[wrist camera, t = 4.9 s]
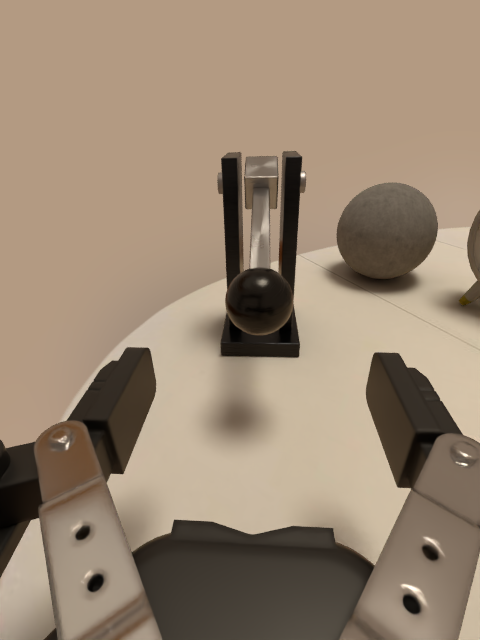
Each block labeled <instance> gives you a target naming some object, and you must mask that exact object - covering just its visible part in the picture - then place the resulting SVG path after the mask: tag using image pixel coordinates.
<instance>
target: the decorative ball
mask: <svg viewBox="0 0 480 640" xmlns="http://www.w3.org/2000/svg"><path fill="white" fill-rule="evenodd" d="M437 231H438V223H437V216H436V212H435V210H434V207H433V205H432V204H431V203H430V201H429V199H428V198H427V197H426V196H425V195H424V194H423V193H421V192H420V191H419V190H417V189H415V188H413V187H411V186H409V185H405V184H401V183H384V184H379V185H375V186H372V187H370V188H368V189H366V190H364V191H362V192H361V193H359V194H358V195H357V196H356V197H354V198H353V199H352V201H350V203H349V204H348V205H347V206H346V208H345V209H344V211H343V213H342V215H341V217H340V220H339V223H338V227H337V244H338V248H339V251H340V253H341V255H342V257H343V259H344V260H345V262H346V263H347V264H348V265H349V266H350V267H351V268H352V269H353V270H355V271H356V272H358V273H360V274H362V275H364V276H367V277H371V278H376V279H389V278H395V277H398V276H401V275H404V274H406V273H408V272H410V271H412V270H413V269H415V268H416V267H417V266H419V265H420V264H421V263H422V262H423V261H424V260H425V259H426V257H427V256H428V255H429V253H430V252H431V250H432V248H433V246H434V243H435V241H436V237H437Z"/></svg>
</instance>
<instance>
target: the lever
mask: <svg viewBox="0 0 480 640" xmlns="http://www.w3.org/2000/svg"><path fill="white" fill-rule="evenodd" d="M244 180H245V208H246V209H252V221H251V244H250V265H249V269H248V270H245V271H243V272H242V273H240V274H239V275H237V276H236V277H235V278H234V279H233V281H232V282H231V284H230V285H229V287H228V290H227V293H226V300H225V303H226V310H227V313H228V316H229V318H230V319H231V321H232V322H233V323H234V325H235V326H236V327H238V328H239V329H240V330H242V331H244V332H246V333H248V334H252V335H267V334H271V333H273V332H275V331H277V330H278V329H280V328H281V327H282V326H283V325H284V324H285V323H286V322H287V321H288V319H289V317H290V315H291V313H292V309H293V293H292V290H291V287H290V285H289V283H288V282H287V281H286V279H285V278H284V277H283V276H282V275H280V274H279V273H278V272H276V271H274V270H272V269H270V209H276V208H277V194H278V157H277V156H259V157H258V156H257V157H246V163H245V177H244Z"/></svg>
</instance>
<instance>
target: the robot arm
mask: <svg viewBox="0 0 480 640" xmlns="http://www.w3.org/2000/svg"><path fill="white" fill-rule="evenodd" d="M155 392H156V379H155V373H154V368H153V363H152V357H151V352H150V350H149V348H134V347H128V348H126V349H125V351H124V352H123V354H122V356H121V357H120V359H119V361H111V362H110V363H109V364H107V365H106V366H105V367H103V368H102V369H101V370H100V371H99V373H98V374H97V376H96V377H95V379H94V382H92V383H91V385H90V386H89V388H88V390H87V391H86V392H85V394H84V395H83V397H82V398H81V400H80V401H79V403H78V404H77V406H76V407H75V409H74V410H73V412H72V413H71V415H70V416H69V418H68V419H67V421H64V422H60V423H58V424H55V425H53V426H51V427H50V428H48V429H47V430H45V431H44V432H43V433H42V434H41V435H40V436H39V437H38V439H37V440H36V442H33V443H29V444H24V445H19V446H15V447H10V448H5V446H4V444H3V442H2V441H1V440H0V577H1V576H2V574H3V572H4V570H5V568H6V566H7V564H8V562H9V560H10V559H11V557H12V555H13V553H14V551H15V549H16V547H17V545H18V543H19V542H20V540H21V538H22V536H23V534H24V532H25V530H26V528H27V527H28V525H29V523H30V521H31V520H33V519H36V518H39V519H40V525H41V532H42V539H43V545H44V552H45V558H46V565H47V572H48V578H49V585H50V591H51V598H52V605H53V611H54V618H55V624H56V628H55V629H54V630H53V631H52V632H51V633H50V634H49V635H48V636H47V637H46V638H45V639H44V640H458V638H459V634H460V630H461V626H462V622H463V618H464V614H465V610H466V606H467V602H468V598H469V594H470V589H471V585H472V581H473V577H474V573H475V569H476V565H477V561H478V557H479V553H480V443H479V442H477V441H475V440H473V439H471V438H469V437H467V436H464V435H463V434H462V433H461V431H460V430H459V428H458V426H457V425H456V423H455V422H454V420H453V418H452V417H451V415H450V414H449V412H448V410H447V409H446V407H445V406H444V404H443V402H442V401H440V398H439V396H438V395H437V393H436V391H434V388H433V387H432V385H431V383H430V382H429V380H428V379H427V377H425V376H424V375H423V374H422V373H420V372H419V371H418V370H417V369H415V368H407V367H406V365H405V363H404V361H403V360H402V358H401V356H400V355H399V354H398V353H374V355H373V358H372V362H371V367H370V372H369V377H368V381H367V386H366V399H367V404H368V407H369V410H370V412H371V415H372V418H373V421H374V423H375V426H376V429H377V432H378V435H379V437H380V440H381V443H382V446H383V449H384V451H385V454H386V457H387V460H388V462H389V465H390V468H391V471H392V474H393V476H394V479H395V482H396V485H397V487H399V488H411V491H410V493H409V495H408V497H407V499H406V501H405V503H404V505H403V508H402V510H401V512H400V514H399V516H398V518H397V520H396V522H395V524H394V527H393V529H392V531H391V533H390V535H389V537H388V539H387V541H386V544H385V546H384V548H383V550H382V552H381V554H380V556H379V558H378V561H377V563H376V565H375V566H374V565H373V564H372V563H371V562H370V561H369V560H367V559H366V558H365V557H363V556H362V555H361V554H359V553H357V552H356V551H354V550H352V549H351V548H349V547H346V546H344V545H342V544H340V543H337V542H335V539H334V533H333V528H319V527H300V526H291V527H287V528H282V529H278V530H273V531H269V532H264V533H260V534H254V535H251V534H247V533H244V532H241V531H238V530H235V529H232V528H229V527H226V526H223V525H220V524H217V523H214V522H206V521H187V520H174V523H173V527H172V531H171V533H169V534H165V535H162V536H160V537H157V538H155V539H153V540H151V541H149V542H147V543H145V544H144V545H142V546H140V547H139V548H137V549H136V550H135V551H134V552H132V553H131V550H130V547H129V545H128V542H127V539H126V536H125V533H124V531H123V528H122V525H121V522H120V519H119V516H118V514H117V511H116V508H115V505H114V502H113V500H112V497H111V494H110V491H109V488H108V486H107V481H108V479H109V476H110V474H123V473H124V471H125V468H126V466H127V464H128V461H129V459H130V456H131V454H132V451H133V449H134V446H135V444H136V441H137V439H138V436H139V434H140V431H141V429H142V427H143V424H144V422H145V419H146V417H147V414H148V412H149V409H150V407H151V404H152V402H153V399H154V397H155Z"/></svg>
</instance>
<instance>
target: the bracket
mask: <svg viewBox="0 0 480 640" xmlns="http://www.w3.org/2000/svg"><path fill="white" fill-rule="evenodd" d="M221 162H222V163H221V164H222V173H218V192H219V194H223V207H224V229H225V250H226V272H227V290H228V287H229V285H230V284H231V282H232V281H233V279H234V278H235V277H236V276H237V275H239V274H240V273H242V272H243V271H244V269H243V221H242V220H243V219H242V218H243V217H242V172H241V171H242V166H241V153H240V152H237V153H236V152H235V153H227V154H226V155H225V156H224V157H223V158H222V159H221ZM301 167H302V156H300V155H299V154H298V153H297V152H296V151H284V152H283V155H282V184H281V185H282V186H281V213H280V214H281V215H280V243H279V271H278V273H279V274H280V275H282V276H283V277H284V278H285V279H286V281H287V282H288V283H289V285H290V287H291V290H292V293H293V300H294V283H295V267H296V250H297V231H298V216H299V200H300V193H304V192H305V187H306V172H305V171H301ZM299 349H300V342H299V336H298V329H297V323H296V317H295V311H294V304H293V309H292V313H291V315H290V317H289V319H288V321H287V322H286V323H285V324H284V325H283V326H282V327H281V328H280V329H278V330H277V331H275V332H273V333H271V334H267V335H252V334H248V333H246V332H244V331H242V330H240V329H239V328H238V327H236V326H235V325H234V323H233V322H232V321H231V319H230V318H229V316H228V313H227V314H226V319H225V324H224V329H223V334H222V339H221V354H222V355H239V356H299Z"/></svg>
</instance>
